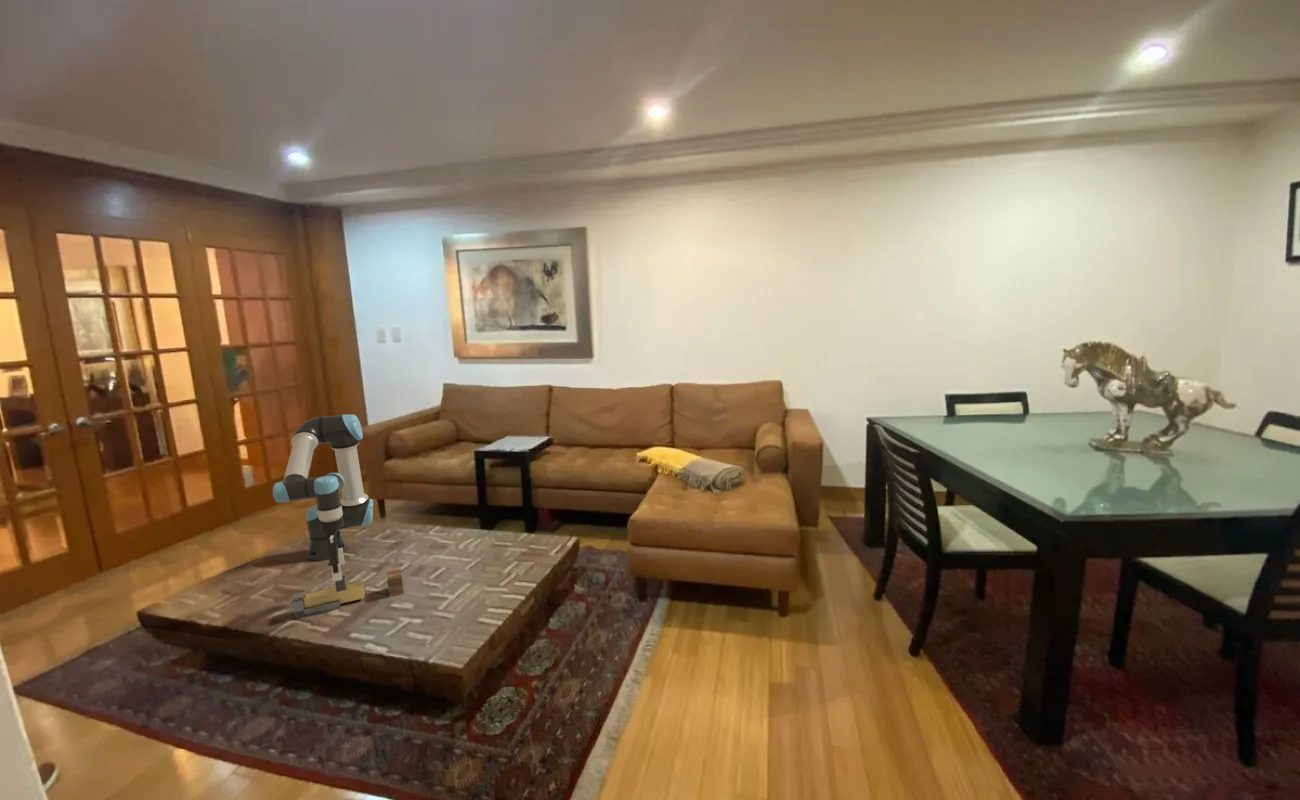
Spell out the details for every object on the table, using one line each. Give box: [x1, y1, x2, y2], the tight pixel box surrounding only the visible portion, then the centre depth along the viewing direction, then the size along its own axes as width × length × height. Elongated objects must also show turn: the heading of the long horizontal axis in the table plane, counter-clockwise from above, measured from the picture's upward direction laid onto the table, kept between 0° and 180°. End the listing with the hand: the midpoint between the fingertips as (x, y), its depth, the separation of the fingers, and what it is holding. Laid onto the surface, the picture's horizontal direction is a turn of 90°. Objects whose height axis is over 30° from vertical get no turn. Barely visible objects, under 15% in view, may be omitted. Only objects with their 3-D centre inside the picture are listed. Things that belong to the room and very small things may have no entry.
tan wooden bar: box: [303, 575, 366, 609], centre depth 195 cm, size 4×22×9 cm, turn 116°
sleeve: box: [291, 589, 342, 620], centre depth 194 cm, size 6×14×7 cm, turn 116°
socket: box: [386, 565, 405, 598], centre depth 205 cm, size 7×5×8 cm
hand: (339, 572), depth 195 cm, fingers open, 13 cm apart
